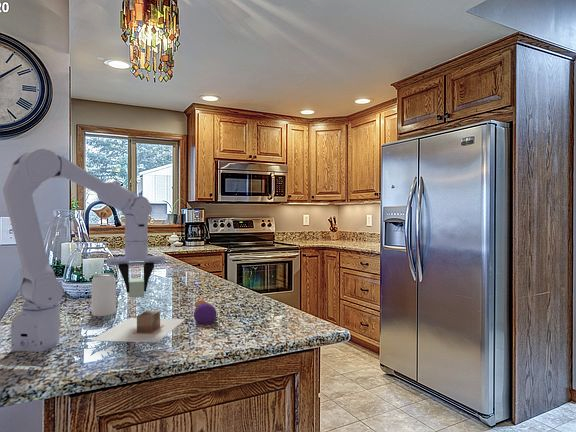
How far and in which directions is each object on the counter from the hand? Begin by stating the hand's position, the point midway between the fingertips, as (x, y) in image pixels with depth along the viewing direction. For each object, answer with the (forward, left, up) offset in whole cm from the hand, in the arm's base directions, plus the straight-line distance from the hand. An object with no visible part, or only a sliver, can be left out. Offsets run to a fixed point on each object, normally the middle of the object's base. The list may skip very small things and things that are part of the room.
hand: (136, 291), depth 109 cm
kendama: (+9, -16, -10) cm, 20 cm away
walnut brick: (-6, -6, -8) cm, 12 cm away
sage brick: (0, 0, -1) cm, 1 cm away
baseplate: (-5, -4, -9) cm, 11 cm away
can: (+9, +14, -9) cm, 19 cm away
